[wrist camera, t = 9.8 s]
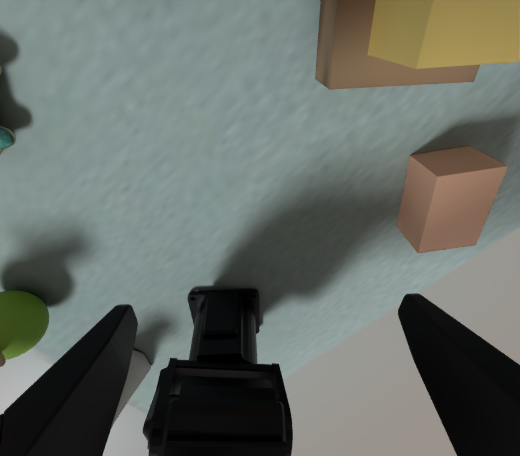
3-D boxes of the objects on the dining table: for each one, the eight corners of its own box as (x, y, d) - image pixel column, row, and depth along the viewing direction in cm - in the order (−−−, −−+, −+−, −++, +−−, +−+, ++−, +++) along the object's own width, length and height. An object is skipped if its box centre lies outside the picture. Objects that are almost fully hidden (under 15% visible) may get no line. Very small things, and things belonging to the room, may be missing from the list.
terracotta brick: (446, 217, 22) (475, 245, 19) (395, 224, 22) (417, 253, 20) (468, 144, 19) (508, 166, 16) (408, 154, 19) (437, 176, 16)
